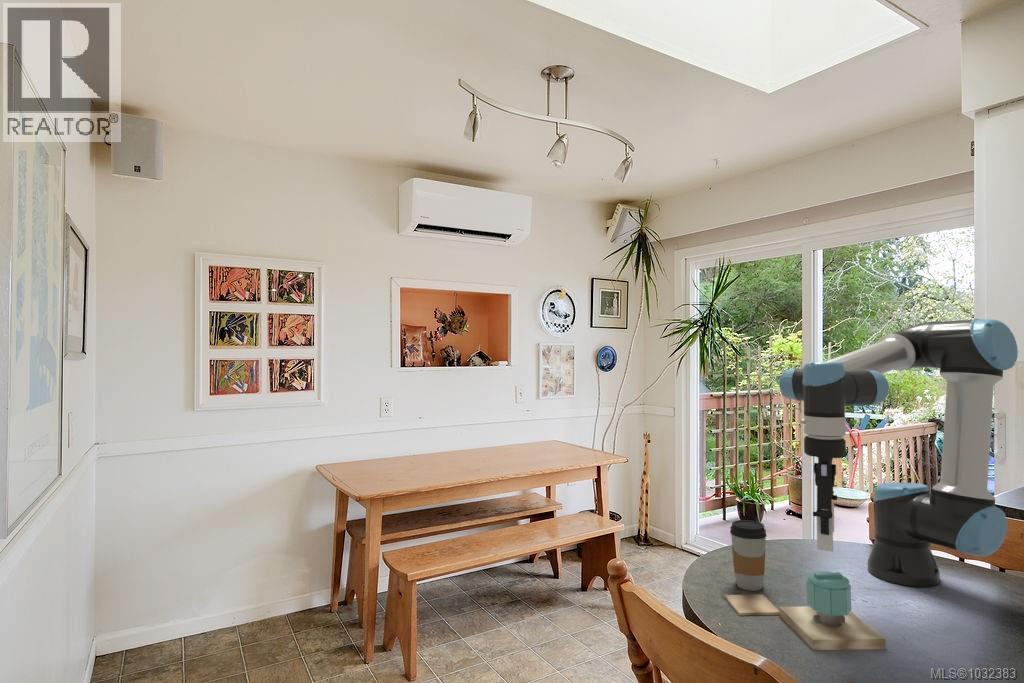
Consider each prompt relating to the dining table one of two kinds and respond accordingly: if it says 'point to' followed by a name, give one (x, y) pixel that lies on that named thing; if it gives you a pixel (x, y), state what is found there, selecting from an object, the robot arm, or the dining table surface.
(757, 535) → the coffee cup
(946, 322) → the robot arm
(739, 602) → the coaster
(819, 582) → the cap
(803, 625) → the post base
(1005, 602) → the dining table surface
